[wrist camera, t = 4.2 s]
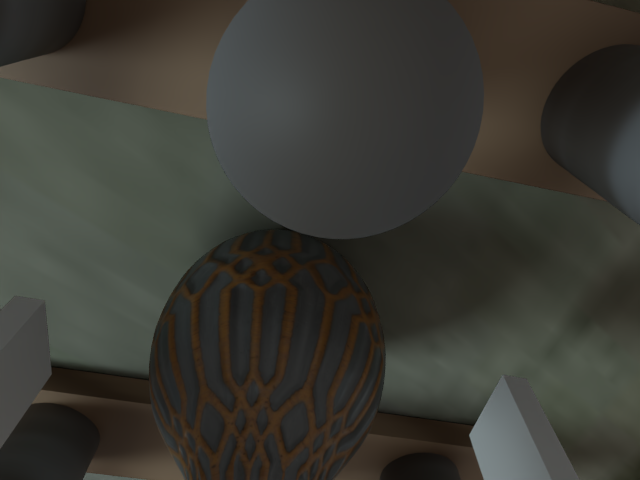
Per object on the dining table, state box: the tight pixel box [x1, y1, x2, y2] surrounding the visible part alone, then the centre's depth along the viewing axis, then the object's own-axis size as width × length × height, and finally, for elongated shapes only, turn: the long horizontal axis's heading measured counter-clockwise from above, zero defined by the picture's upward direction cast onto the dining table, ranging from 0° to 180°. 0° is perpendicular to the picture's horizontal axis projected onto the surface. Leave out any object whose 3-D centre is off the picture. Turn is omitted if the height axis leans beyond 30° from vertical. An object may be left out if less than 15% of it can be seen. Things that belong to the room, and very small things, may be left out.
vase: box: [149, 230, 386, 480], centre depth 13 cm, size 7×7×9 cm
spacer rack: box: [0, 0, 640, 480], centre depth 14 cm, size 22×22×8 cm
